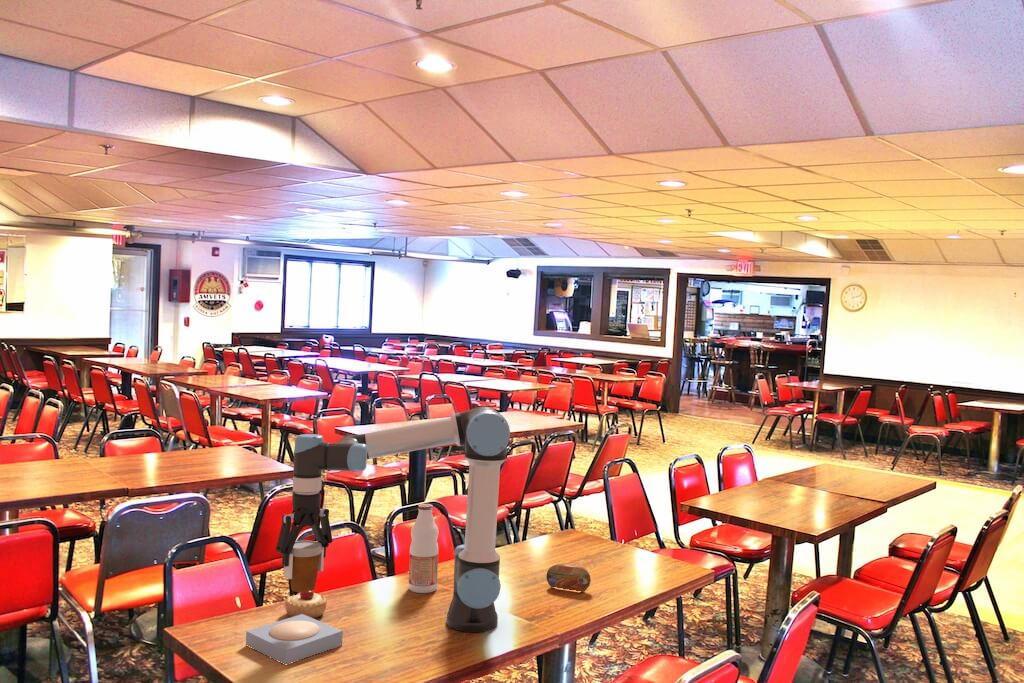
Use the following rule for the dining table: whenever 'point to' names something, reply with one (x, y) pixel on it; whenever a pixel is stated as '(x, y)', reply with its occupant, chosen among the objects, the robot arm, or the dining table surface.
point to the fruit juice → (424, 552)
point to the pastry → (306, 604)
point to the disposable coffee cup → (305, 565)
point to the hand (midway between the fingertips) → (303, 573)
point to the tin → (568, 577)
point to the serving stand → (294, 638)
